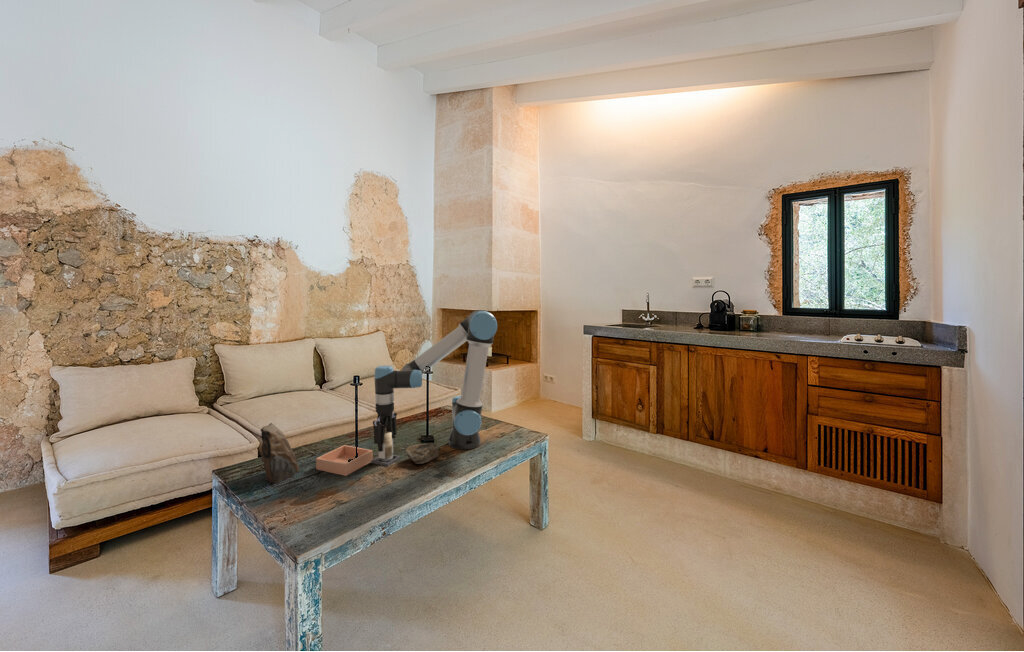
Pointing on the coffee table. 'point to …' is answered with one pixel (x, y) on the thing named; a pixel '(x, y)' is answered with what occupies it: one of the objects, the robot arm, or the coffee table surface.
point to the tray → (344, 460)
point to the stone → (422, 452)
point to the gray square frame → (385, 462)
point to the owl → (277, 455)
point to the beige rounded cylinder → (387, 447)
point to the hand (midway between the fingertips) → (386, 455)
